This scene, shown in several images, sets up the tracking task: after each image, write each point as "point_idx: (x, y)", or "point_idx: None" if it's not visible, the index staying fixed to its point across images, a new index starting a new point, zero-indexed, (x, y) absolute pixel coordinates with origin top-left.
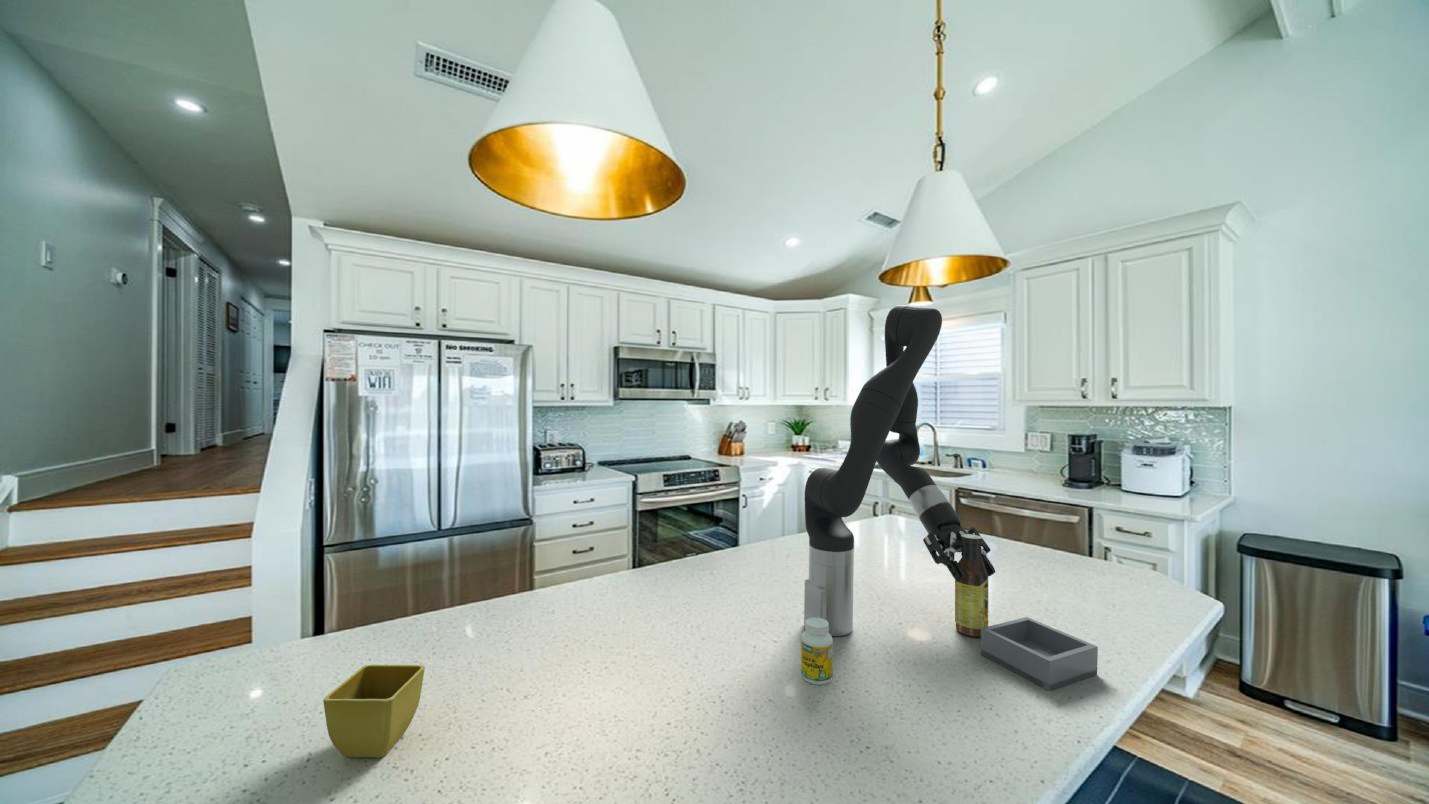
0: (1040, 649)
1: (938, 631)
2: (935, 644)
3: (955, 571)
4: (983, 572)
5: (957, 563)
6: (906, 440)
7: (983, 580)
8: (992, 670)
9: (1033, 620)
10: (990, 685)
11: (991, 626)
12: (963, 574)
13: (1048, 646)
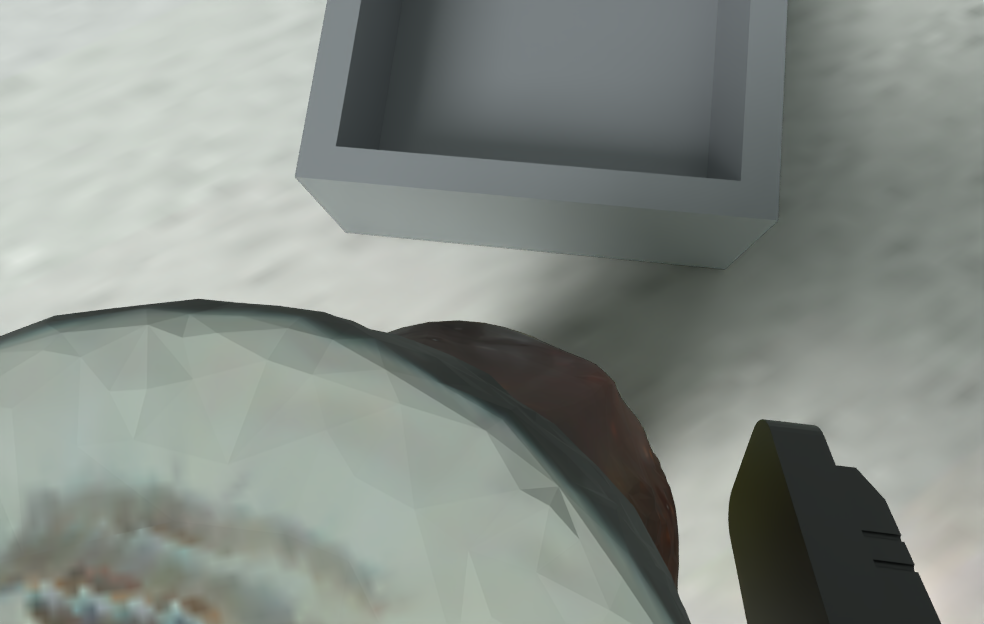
0: (426, 107)
1: (697, 589)
2: (871, 479)
3: (899, 547)
4: (446, 342)
5: (842, 612)
6: None
7: (500, 327)
8: (820, 143)
9: (316, 124)
10: (961, 68)
11: (682, 201)
12: (804, 443)
13: (385, 79)
